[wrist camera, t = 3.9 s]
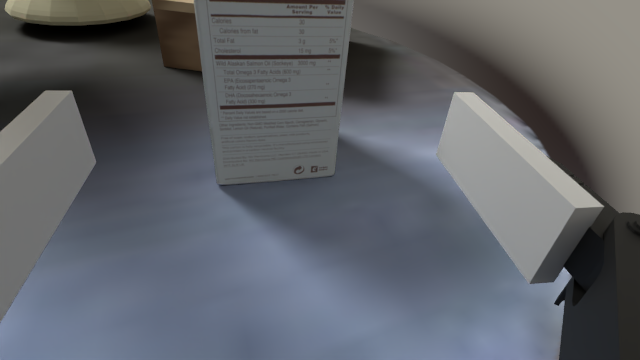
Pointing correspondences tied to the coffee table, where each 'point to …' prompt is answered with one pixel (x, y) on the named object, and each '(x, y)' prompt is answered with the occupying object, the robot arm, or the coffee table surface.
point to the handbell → (76, 11)
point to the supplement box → (273, 85)
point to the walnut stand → (178, 33)
